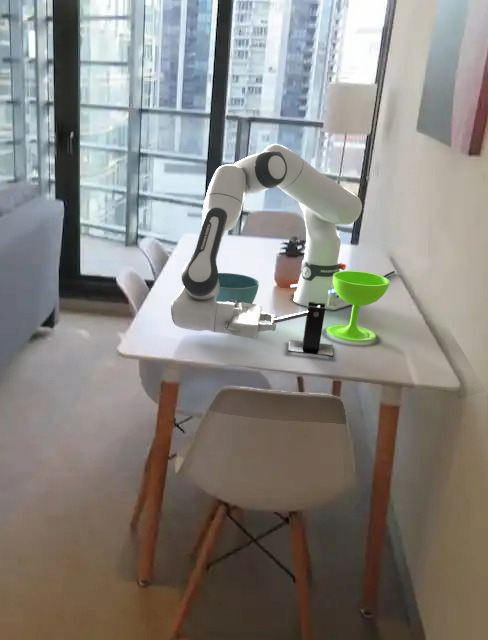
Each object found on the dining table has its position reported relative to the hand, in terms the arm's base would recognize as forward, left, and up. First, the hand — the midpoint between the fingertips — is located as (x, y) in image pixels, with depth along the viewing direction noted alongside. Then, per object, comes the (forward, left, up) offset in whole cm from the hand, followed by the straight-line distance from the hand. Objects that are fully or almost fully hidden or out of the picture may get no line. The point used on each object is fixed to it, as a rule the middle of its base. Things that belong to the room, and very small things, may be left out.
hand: (276, 323), depth 201 cm
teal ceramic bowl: (-4, -27, -8) cm, 28 cm away
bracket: (-7, +7, -7) cm, 13 cm away
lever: (-4, +4, +2) cm, 6 cm away
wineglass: (-28, +3, -8) cm, 29 cm away
